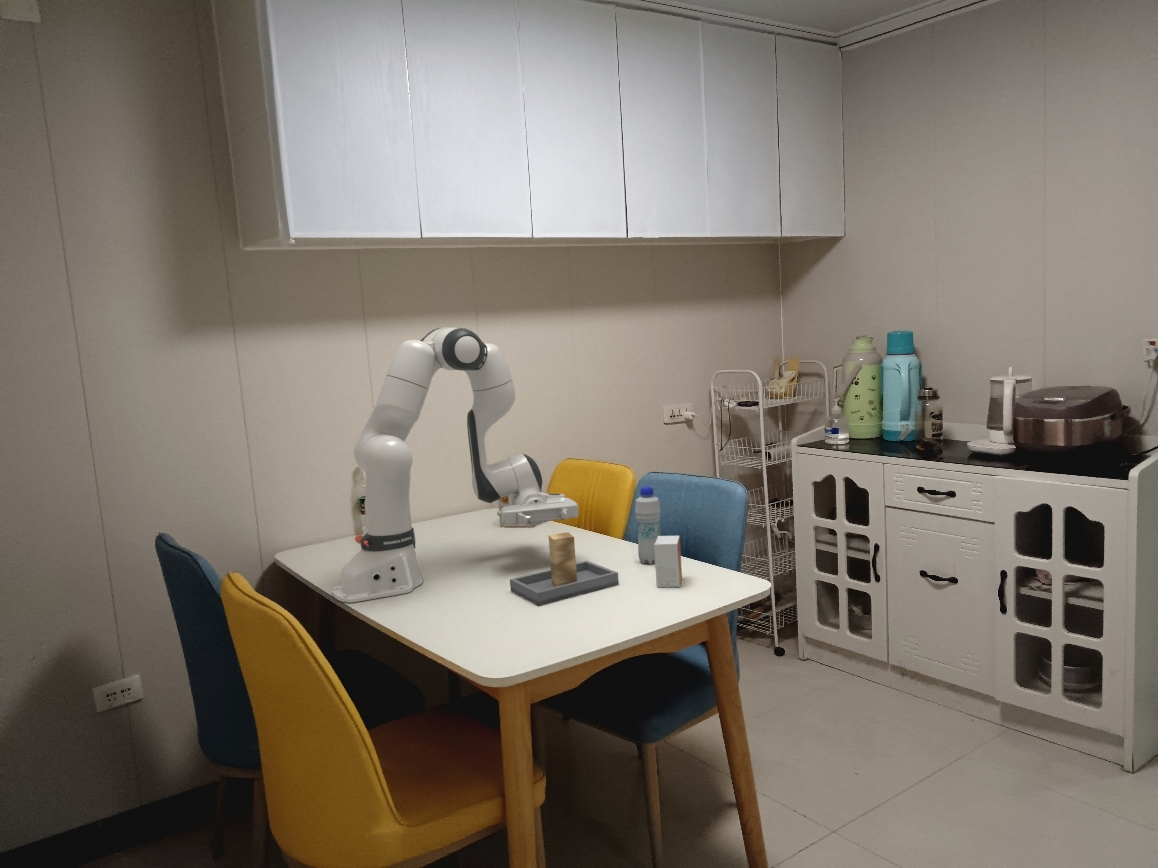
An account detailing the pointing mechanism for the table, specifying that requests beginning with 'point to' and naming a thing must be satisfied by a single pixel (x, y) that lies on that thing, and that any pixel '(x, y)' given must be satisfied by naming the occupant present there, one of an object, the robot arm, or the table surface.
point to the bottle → (647, 523)
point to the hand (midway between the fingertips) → (546, 518)
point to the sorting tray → (545, 592)
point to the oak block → (562, 559)
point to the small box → (668, 561)
